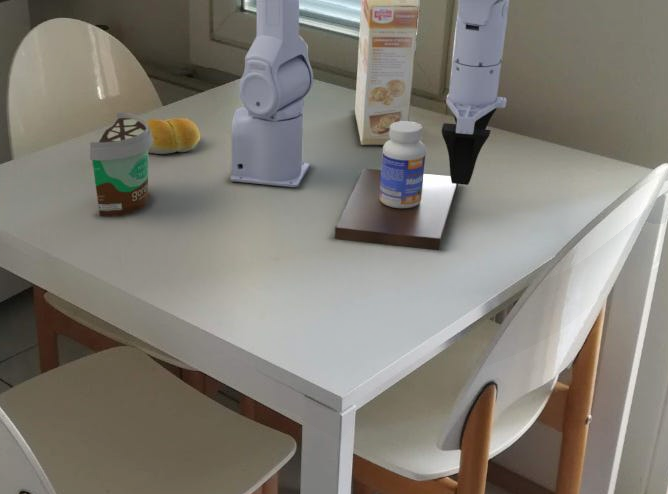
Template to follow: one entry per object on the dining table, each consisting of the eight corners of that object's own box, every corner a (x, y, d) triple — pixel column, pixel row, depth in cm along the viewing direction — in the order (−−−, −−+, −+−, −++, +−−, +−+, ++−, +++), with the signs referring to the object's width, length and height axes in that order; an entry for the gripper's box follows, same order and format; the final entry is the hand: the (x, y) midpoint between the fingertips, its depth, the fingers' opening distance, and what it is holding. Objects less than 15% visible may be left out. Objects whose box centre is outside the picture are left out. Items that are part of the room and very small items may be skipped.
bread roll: (207, 151, 160) (206, 123, 158) (147, 158, 158) (146, 131, 156) (190, 132, 167) (189, 105, 164) (132, 139, 164) (131, 112, 162)
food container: (142, 224, 140) (136, 147, 134) (96, 220, 141) (88, 143, 135) (167, 186, 150) (163, 113, 144) (123, 183, 151) (118, 110, 145)
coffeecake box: (408, 146, 162) (420, 5, 150) (359, 146, 162) (368, 5, 150) (399, 111, 173) (409, -22, 161) (353, 111, 174) (360, -22, 162)
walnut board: (334, 238, 137) (335, 227, 136) (363, 178, 152) (363, 167, 151) (439, 250, 134) (440, 238, 133) (457, 187, 149) (459, 176, 148)
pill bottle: (410, 212, 139) (416, 137, 133) (371, 203, 141) (376, 128, 136) (428, 198, 143) (435, 123, 137) (390, 189, 145) (396, 115, 139)
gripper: (506, 81, 123) (490, 197, 131) (516, 44, 134) (500, 153, 142) (443, 76, 124) (431, 191, 133) (457, 40, 136) (446, 148, 144)
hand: (463, 171), depth 138 cm, fingers open, 7 cm apart
